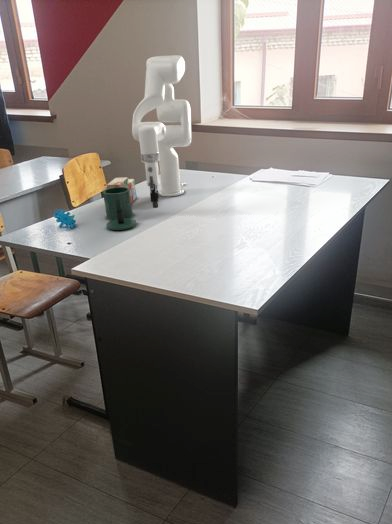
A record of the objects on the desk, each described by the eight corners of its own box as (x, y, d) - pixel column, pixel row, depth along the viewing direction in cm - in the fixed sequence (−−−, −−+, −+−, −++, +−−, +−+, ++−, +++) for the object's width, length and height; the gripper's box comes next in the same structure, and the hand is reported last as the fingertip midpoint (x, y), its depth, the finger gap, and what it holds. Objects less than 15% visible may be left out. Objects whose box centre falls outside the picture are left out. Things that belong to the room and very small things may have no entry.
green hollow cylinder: (122, 211, 234) (119, 185, 228) (138, 215, 227) (134, 189, 221) (101, 217, 228) (97, 191, 222) (117, 222, 220) (113, 195, 214)
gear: (65, 228, 212) (50, 209, 212) (58, 237, 215) (44, 218, 216) (82, 224, 220) (69, 206, 221) (76, 232, 224) (63, 214, 224)
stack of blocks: (125, 198, 253) (121, 172, 246) (137, 198, 252) (134, 172, 245) (110, 211, 235) (106, 184, 229) (123, 211, 234) (119, 184, 228)
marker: (156, 205, 228) (153, 183, 222) (159, 206, 226) (157, 184, 221) (151, 207, 226) (149, 184, 221) (155, 208, 225) (152, 185, 219)
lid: (124, 219, 223) (122, 205, 219) (142, 225, 215) (140, 210, 211) (100, 227, 216) (98, 212, 212) (118, 233, 208) (116, 217, 204)
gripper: (157, 161, 208) (162, 205, 218) (160, 152, 221) (164, 194, 231) (139, 162, 208) (144, 206, 218) (143, 153, 221) (148, 195, 231)
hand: (154, 200), depth 224 cm, fingers closed on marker, 2 cm apart
